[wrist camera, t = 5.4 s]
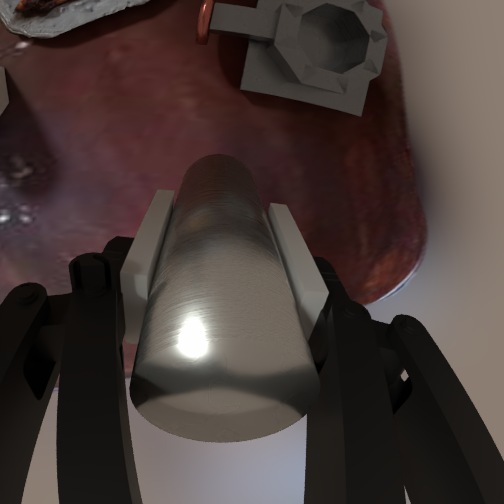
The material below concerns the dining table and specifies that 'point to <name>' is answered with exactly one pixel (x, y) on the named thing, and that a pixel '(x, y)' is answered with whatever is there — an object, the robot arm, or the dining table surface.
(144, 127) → the dining table surface
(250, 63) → the valve body
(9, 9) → the food plate
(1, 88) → the jar
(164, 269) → the pipe stub
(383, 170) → the dining table surface
